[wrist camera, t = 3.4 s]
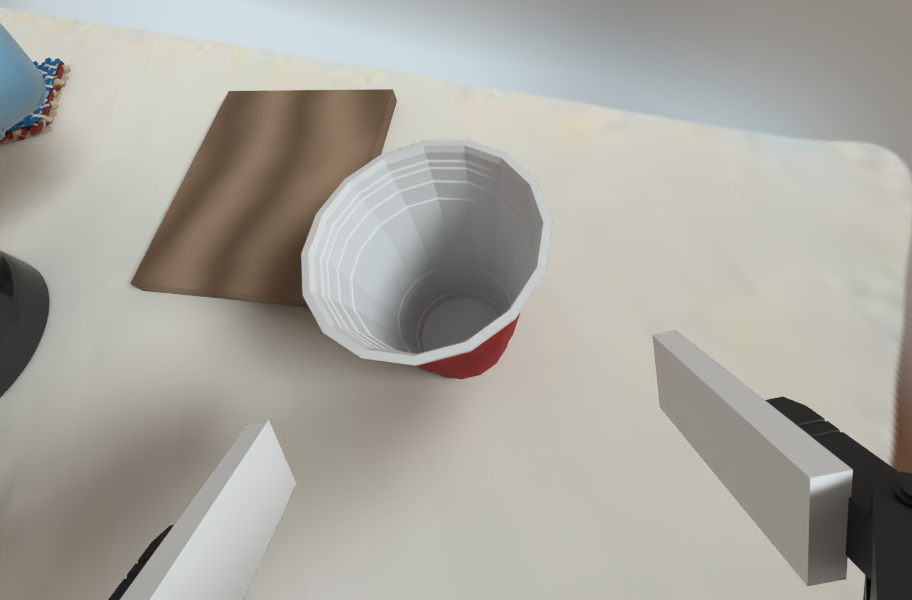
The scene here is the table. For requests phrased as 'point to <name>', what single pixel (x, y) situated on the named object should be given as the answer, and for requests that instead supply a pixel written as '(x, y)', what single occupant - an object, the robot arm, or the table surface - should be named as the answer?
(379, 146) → the walnut board
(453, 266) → the plastic cup
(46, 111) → the woven mat
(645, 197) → the table surface
